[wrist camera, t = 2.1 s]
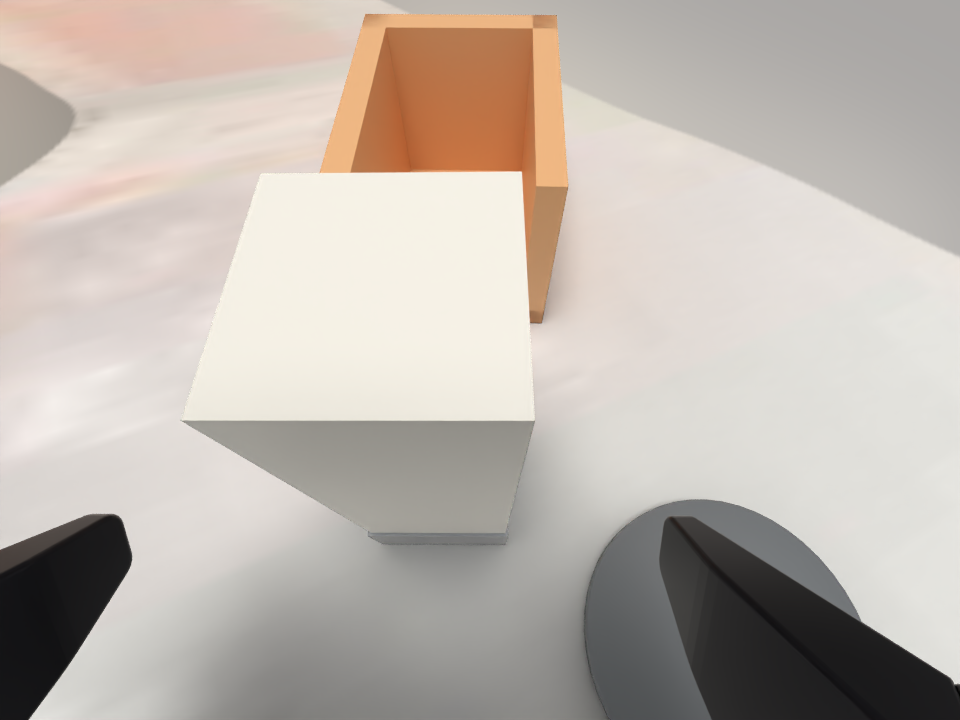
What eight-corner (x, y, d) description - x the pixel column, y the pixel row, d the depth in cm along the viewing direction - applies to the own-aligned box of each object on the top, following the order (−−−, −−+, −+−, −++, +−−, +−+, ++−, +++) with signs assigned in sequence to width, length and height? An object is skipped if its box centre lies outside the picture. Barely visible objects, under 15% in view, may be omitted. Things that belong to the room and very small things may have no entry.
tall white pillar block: (505, 544, 17) (543, 428, 6) (382, 544, 17) (170, 428, 6) (503, 426, 19) (527, 167, 8) (393, 426, 19) (256, 169, 8)
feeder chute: (398, 171, 26) (365, 14, 19) (537, 173, 26) (556, 15, 19) (372, 318, 22) (316, 182, 15) (541, 322, 22) (568, 186, 14)
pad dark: (925, 714, 15) (947, 720, 14) (697, 893, 13) (709, 910, 12) (732, 463, 18) (742, 457, 18) (536, 575, 17) (538, 574, 16)
